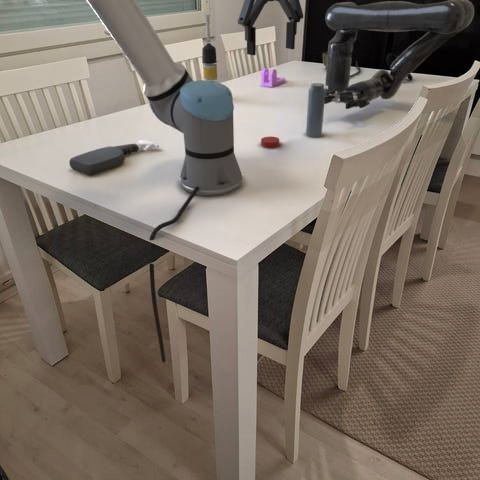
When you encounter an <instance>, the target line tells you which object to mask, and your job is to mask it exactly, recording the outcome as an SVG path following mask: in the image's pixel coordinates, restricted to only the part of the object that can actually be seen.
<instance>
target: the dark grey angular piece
mask: <svg viewBox="0 0 480 480" xmlns="http://www.w3.org/2000/svg"><path fill="white" fill-rule="evenodd" d="M399 56H400V55H396V54H394V53H392V52H390V53H387V55H386V57H385V61H386V64H387V67H390V66H391V64H392V63H393V62H394V61H395V60H396V59H397V58H398V57H399ZM391 59H392V60H391ZM389 73H390V75H391V76H392V73H391V71H390V72H389ZM392 77H393V76H392ZM406 79H407V80H408V81H412V80H413V79H414V77H413V75H412V74H411V73H410V74H409V75H408V76H407V77H406Z"/></svg>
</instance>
